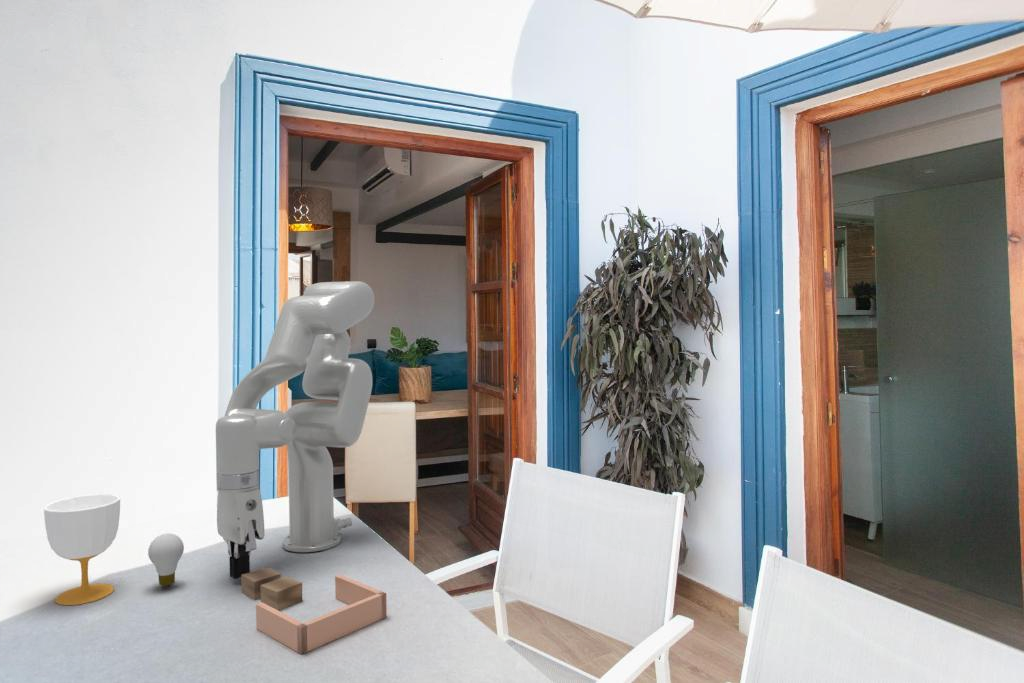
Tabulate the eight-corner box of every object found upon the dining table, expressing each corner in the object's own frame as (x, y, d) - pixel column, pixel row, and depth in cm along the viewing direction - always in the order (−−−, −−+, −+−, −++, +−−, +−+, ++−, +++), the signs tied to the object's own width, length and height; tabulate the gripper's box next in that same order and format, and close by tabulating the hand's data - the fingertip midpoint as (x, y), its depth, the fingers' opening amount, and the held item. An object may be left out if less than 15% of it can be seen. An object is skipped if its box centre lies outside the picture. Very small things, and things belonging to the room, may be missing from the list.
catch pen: (340, 596, 117) (339, 574, 117) (386, 616, 109) (386, 593, 109) (256, 628, 105) (256, 604, 105) (301, 654, 97) (301, 627, 97)
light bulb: (169, 594, 119) (168, 540, 119) (141, 592, 120) (140, 538, 120) (191, 582, 125) (190, 530, 124) (164, 579, 126) (163, 528, 125)
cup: (131, 593, 119) (129, 501, 119) (54, 615, 111) (52, 515, 110) (111, 577, 127) (109, 490, 127) (38, 595, 119) (36, 502, 118)
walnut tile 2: (285, 595, 119) (285, 576, 119) (302, 602, 116) (302, 582, 116) (260, 604, 115) (260, 585, 115) (277, 612, 112) (277, 592, 112)
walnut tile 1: (267, 585, 123) (267, 567, 123) (280, 592, 120) (280, 573, 120) (241, 593, 119) (241, 574, 119) (254, 601, 116) (254, 582, 116)
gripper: (277, 482, 122) (278, 579, 123) (237, 471, 132) (239, 561, 132) (238, 490, 116) (240, 592, 117) (200, 478, 126) (202, 572, 127)
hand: (239, 575), depth 125 cm, fingers closed
